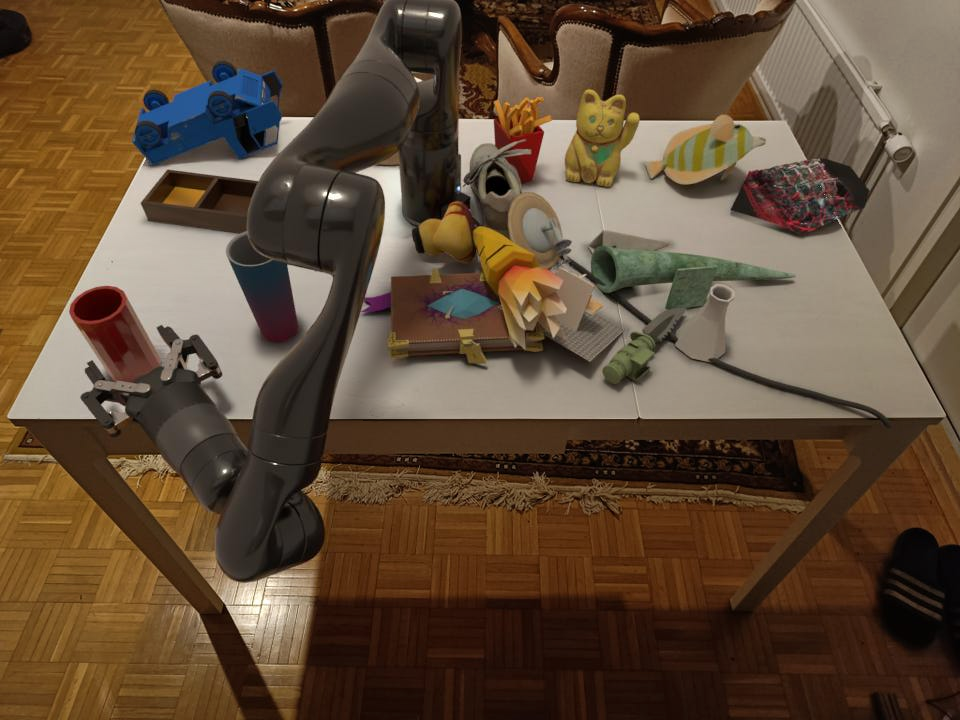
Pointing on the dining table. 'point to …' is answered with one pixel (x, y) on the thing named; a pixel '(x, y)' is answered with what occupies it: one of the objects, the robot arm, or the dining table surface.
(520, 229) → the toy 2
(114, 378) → the tumbler
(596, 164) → the figurine
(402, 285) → the book
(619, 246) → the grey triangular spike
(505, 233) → the shoe
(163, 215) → the caddy
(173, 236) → the dining table surface
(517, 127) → the french fries
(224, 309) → the dining table surface
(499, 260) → the torch
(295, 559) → the robot arm
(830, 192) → the fabric swatch
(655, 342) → the knife
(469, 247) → the toy
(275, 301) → the cup
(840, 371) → the dining table surface
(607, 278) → the decorative horn
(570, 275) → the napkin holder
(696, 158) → the decorative fish sculpture
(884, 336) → the dining table surface
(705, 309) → the flask
